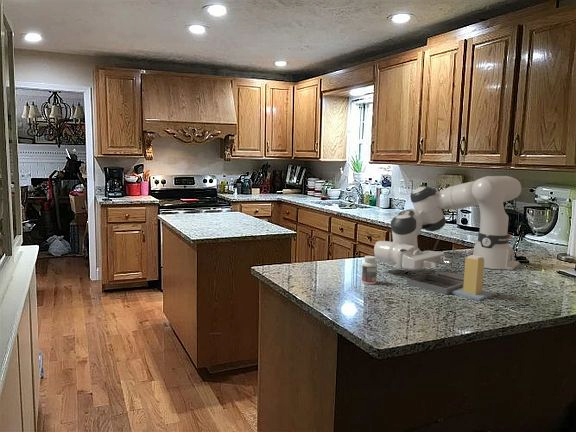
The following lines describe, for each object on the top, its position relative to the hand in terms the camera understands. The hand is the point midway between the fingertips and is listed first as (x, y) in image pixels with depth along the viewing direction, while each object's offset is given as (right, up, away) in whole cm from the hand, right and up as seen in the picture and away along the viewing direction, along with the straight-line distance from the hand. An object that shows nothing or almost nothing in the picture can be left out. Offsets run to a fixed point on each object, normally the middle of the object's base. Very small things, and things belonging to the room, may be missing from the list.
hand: (443, 263), depth 171 cm
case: (+3, -8, +6) cm, 10 cm away
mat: (+8, -10, -7) cm, 14 cm away
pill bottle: (-26, -8, +5) cm, 28 cm away
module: (+8, -9, -7) cm, 14 cm away
